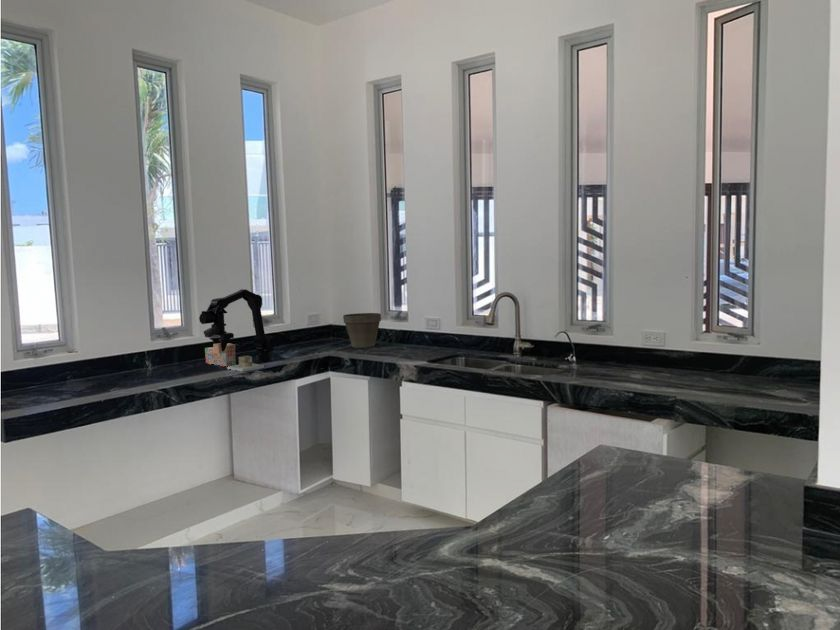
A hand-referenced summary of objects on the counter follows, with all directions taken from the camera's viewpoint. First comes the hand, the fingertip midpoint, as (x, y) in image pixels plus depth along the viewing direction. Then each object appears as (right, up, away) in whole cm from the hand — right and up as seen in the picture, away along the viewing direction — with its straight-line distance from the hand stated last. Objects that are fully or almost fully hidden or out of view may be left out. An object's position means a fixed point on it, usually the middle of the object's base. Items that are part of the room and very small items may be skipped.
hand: (220, 350), depth 360 cm
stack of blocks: (-6, -9, +22) cm, 25 cm away
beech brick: (+12, -8, +5) cm, 16 cm away
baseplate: (+12, -10, +5) cm, 17 cm away
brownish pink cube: (0, -1, 0) cm, 1 cm away
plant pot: (+71, -2, +79) cm, 106 cm away
